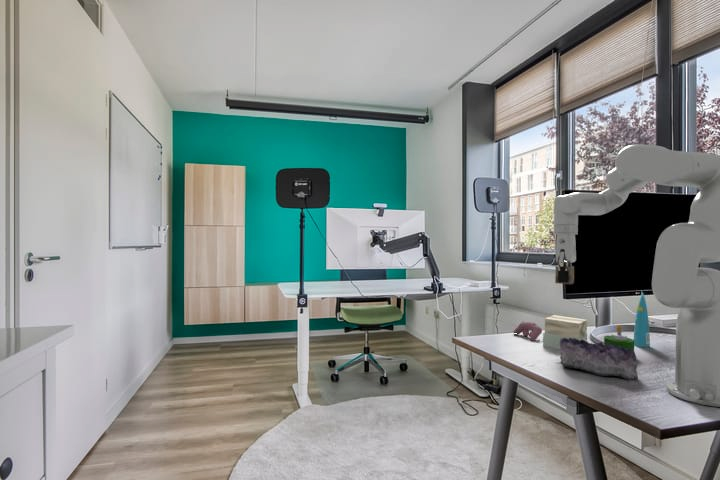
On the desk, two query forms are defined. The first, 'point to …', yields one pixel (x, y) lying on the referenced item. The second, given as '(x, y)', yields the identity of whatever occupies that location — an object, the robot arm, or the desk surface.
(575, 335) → the cream wooden block
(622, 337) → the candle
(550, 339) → the tower base
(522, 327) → the pink animal figurine
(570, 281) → the walnut block
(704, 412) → the desk surface
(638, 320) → the tube
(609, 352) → the geode
